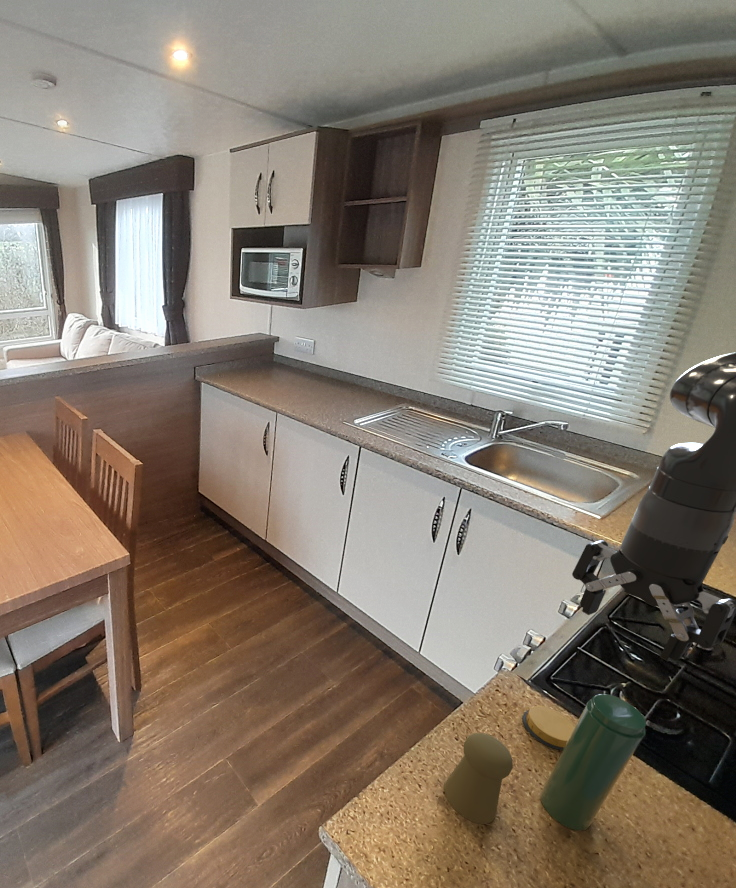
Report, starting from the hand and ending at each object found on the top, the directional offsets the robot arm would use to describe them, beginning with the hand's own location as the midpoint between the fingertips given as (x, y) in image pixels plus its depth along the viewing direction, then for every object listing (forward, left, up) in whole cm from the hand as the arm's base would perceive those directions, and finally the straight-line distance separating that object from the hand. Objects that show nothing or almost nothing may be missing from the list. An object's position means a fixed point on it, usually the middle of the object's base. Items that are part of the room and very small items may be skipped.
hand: (626, 633), depth 63 cm
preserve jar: (+6, +10, -22) cm, 25 cm away
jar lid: (+2, -2, -21) cm, 21 cm away
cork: (+18, +11, -22) cm, 31 cm away
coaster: (+2, -2, -22) cm, 22 cm away
